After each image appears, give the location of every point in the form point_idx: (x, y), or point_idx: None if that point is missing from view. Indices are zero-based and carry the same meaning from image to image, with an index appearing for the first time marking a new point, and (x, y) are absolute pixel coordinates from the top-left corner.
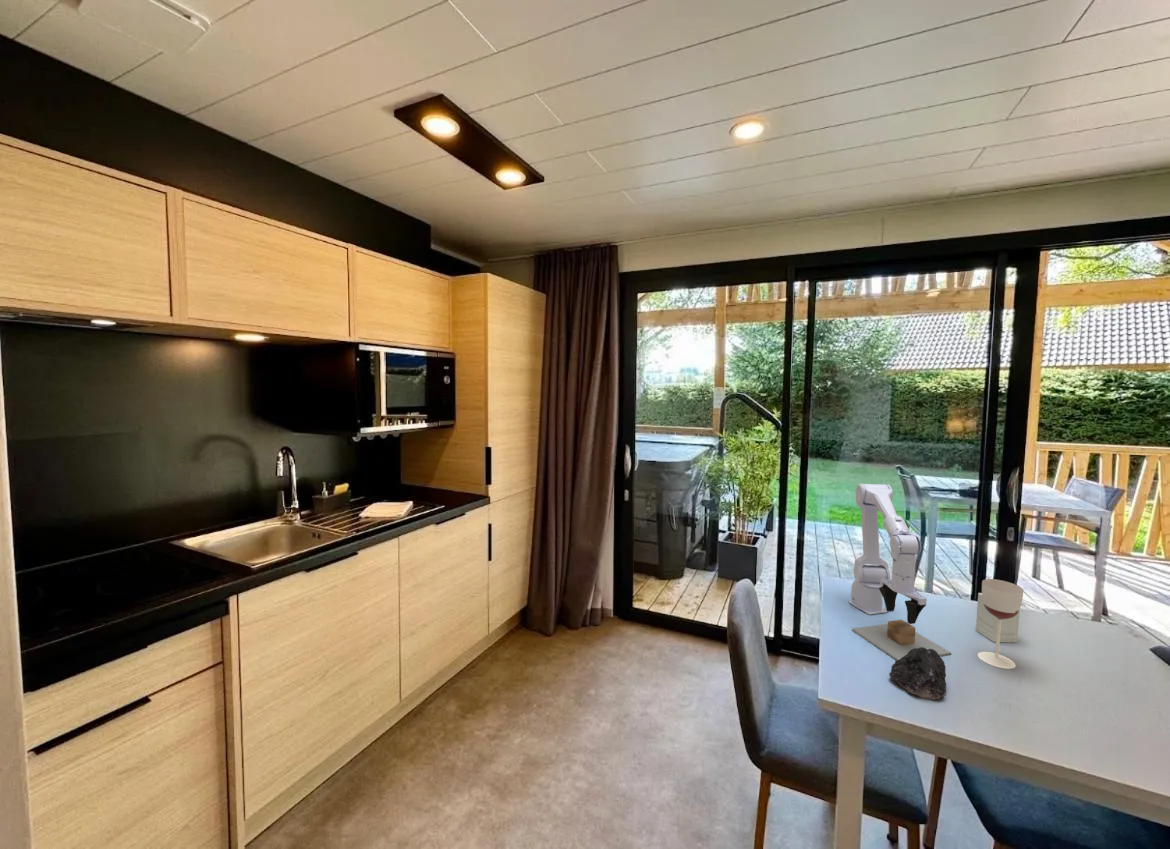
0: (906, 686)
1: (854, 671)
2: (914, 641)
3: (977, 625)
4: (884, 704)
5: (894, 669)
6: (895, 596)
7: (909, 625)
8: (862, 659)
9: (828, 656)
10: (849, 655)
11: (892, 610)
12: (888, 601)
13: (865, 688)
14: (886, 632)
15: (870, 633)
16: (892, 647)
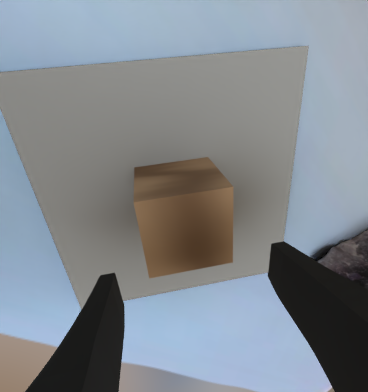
0: None
1: (269, 357)
2: (210, 160)
3: None
4: None
5: None
6: (88, 390)
7: (207, 203)
8: (236, 332)
9: (209, 381)
10: (215, 349)
11: (117, 284)
12: (114, 383)
13: (315, 358)
14: (112, 212)
15: (118, 270)
16: None
